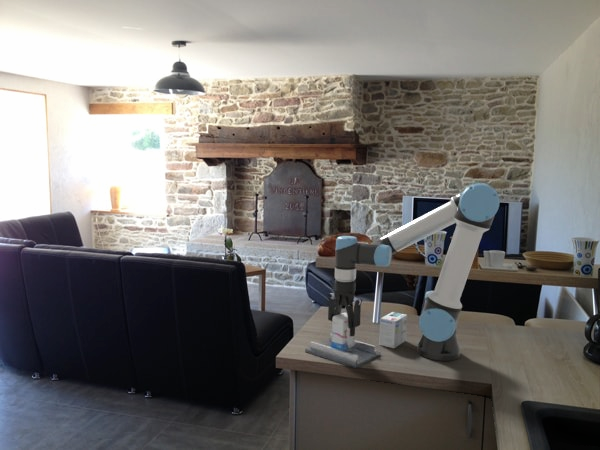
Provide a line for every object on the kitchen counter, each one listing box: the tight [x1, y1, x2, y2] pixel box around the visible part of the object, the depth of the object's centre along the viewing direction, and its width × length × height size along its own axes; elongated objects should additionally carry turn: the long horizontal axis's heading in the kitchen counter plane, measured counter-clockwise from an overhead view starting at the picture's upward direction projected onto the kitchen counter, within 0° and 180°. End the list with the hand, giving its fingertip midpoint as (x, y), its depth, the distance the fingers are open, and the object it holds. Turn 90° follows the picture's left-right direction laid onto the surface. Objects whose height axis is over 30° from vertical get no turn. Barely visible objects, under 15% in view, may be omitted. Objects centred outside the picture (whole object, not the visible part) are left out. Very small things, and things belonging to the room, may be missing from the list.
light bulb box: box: [378, 311, 408, 349], centre depth 202 cm, size 11×7×11 cm, turn 145°
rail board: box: [304, 332, 381, 369], centre depth 191 cm, size 22×16×4 cm
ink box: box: [331, 311, 356, 351], centre depth 190 cm, size 9×5×12 cm, turn 142°
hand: (343, 342), depth 191 cm, fingers closed on ink box, 5 cm apart
